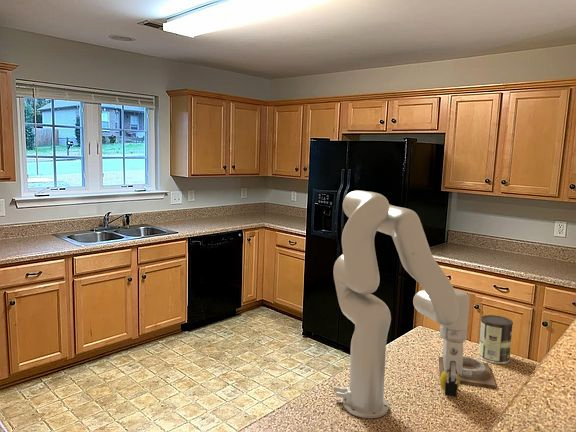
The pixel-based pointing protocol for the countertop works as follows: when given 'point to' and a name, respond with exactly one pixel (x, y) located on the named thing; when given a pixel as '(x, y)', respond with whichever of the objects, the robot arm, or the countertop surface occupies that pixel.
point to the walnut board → (482, 381)
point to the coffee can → (495, 339)
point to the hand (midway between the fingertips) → (449, 387)
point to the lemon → (444, 379)
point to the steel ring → (472, 372)
